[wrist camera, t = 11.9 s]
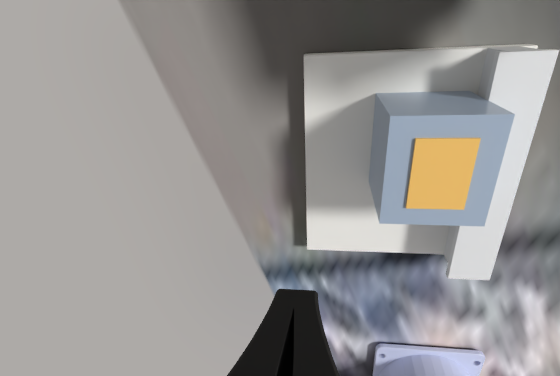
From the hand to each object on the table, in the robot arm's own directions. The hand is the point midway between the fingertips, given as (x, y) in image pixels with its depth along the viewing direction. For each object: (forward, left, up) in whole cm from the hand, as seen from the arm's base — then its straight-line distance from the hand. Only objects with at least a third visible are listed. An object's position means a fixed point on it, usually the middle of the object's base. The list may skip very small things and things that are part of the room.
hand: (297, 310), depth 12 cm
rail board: (+2, -5, -10) cm, 12 cm away
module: (+3, -6, -9) cm, 11 cm away
